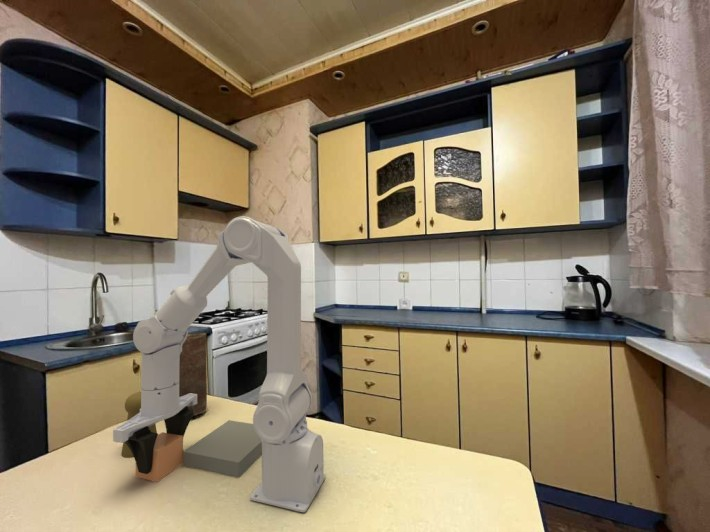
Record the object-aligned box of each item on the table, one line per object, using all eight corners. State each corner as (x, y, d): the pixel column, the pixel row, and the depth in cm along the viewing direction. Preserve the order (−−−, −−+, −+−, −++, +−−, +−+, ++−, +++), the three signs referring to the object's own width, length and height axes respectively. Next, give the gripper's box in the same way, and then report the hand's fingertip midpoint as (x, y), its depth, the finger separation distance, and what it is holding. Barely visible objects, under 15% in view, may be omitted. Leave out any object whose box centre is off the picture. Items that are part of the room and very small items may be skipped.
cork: (138, 459, 55) (139, 400, 55) (112, 455, 56) (113, 398, 56) (165, 441, 61) (166, 388, 61) (141, 438, 62) (142, 386, 62)
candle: (196, 422, 68) (196, 337, 69) (165, 422, 69) (166, 337, 69) (212, 408, 76) (212, 331, 77) (184, 408, 76) (185, 331, 77)
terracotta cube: (182, 463, 53) (183, 435, 54) (157, 482, 49) (157, 451, 49) (162, 459, 55) (162, 432, 55) (135, 476, 50) (135, 447, 50)
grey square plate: (276, 441, 61) (276, 427, 61) (238, 480, 49) (238, 462, 49) (228, 434, 64) (228, 420, 64) (182, 468, 53) (183, 451, 53)
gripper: (178, 370, 60) (177, 436, 60) (99, 398, 46) (98, 485, 46) (205, 372, 58) (205, 441, 58) (132, 403, 44) (131, 494, 44)
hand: (160, 461), depth 52 cm, fingers closed on terracotta cube, 5 cm apart
